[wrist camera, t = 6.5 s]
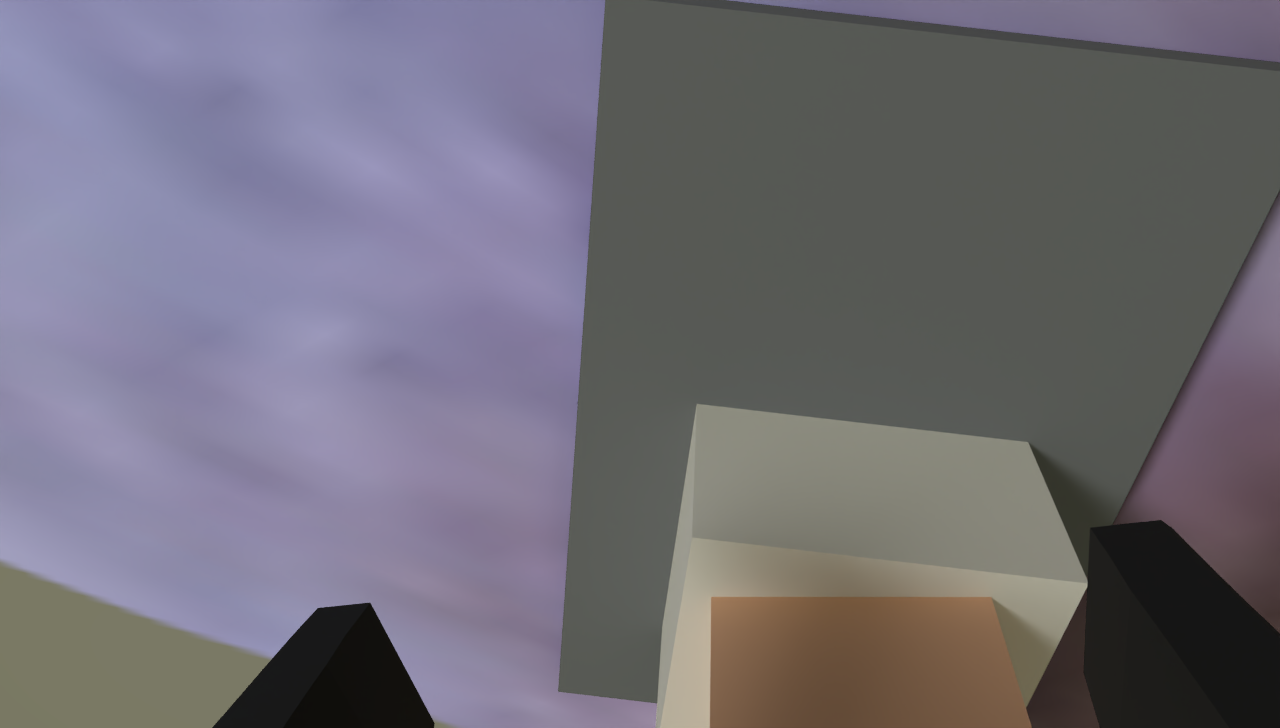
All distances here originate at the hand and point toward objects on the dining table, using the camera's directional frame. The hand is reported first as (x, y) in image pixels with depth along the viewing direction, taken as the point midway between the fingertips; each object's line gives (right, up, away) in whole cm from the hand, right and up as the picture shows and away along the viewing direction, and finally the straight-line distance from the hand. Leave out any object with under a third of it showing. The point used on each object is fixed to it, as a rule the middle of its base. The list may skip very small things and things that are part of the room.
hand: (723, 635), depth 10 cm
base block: (+3, -1, +12) cm, 13 cm away
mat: (+4, +1, +11) cm, 12 cm away
